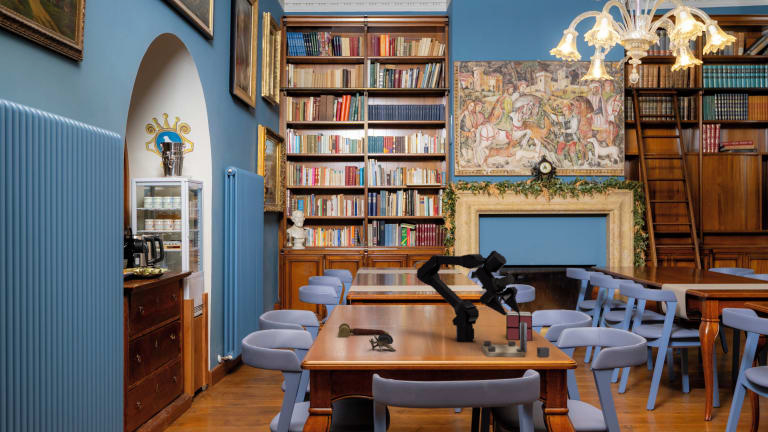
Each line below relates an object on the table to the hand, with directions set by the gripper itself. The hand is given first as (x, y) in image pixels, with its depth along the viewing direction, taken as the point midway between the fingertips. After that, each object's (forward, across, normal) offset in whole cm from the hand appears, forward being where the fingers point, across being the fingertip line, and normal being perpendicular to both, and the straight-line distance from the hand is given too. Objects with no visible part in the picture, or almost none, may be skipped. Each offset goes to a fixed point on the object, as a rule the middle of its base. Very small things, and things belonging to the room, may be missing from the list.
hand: (512, 313), depth 205 cm
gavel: (-29, -21, +52) cm, 63 cm away
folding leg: (+14, -3, +4) cm, 15 cm away
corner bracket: (+19, -2, -1) cm, 19 cm away
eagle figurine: (-12, -36, +33) cm, 50 cm away
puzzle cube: (+4, +20, +16) cm, 26 cm away
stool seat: (+10, -8, +8) cm, 15 cm away
